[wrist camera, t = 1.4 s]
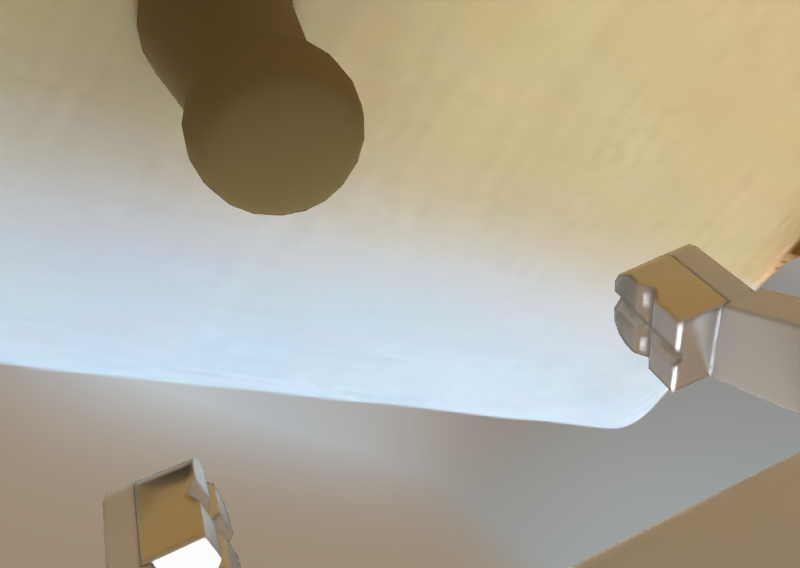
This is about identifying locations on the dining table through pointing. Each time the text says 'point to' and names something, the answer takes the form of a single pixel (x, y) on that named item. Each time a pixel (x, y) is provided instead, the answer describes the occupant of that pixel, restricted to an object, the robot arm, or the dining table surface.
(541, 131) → the dining table surface
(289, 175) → the cork
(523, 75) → the dining table surface
